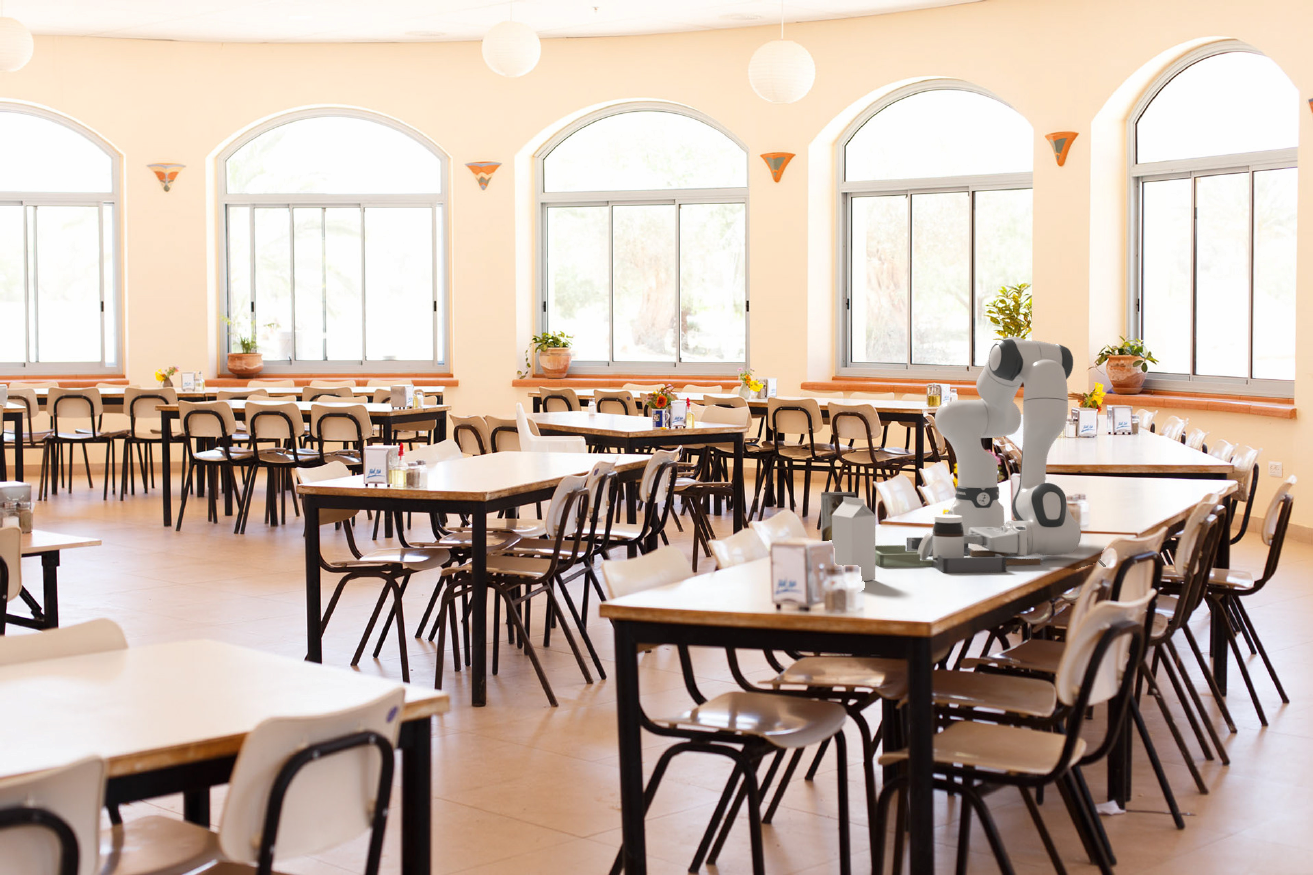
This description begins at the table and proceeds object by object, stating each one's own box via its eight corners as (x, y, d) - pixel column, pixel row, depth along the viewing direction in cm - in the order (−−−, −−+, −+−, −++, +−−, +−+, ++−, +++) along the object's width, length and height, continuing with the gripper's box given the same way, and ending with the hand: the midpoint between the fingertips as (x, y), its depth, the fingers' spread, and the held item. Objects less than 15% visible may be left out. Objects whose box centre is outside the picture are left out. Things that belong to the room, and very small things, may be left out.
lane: (866, 557, 338) (866, 545, 338) (1019, 555, 340) (1019, 543, 340) (879, 566, 322) (879, 554, 322) (1040, 564, 324) (1040, 552, 324)
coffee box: (855, 552, 347) (855, 491, 346) (856, 556, 340) (857, 493, 339) (820, 552, 348) (820, 491, 347) (821, 555, 341) (821, 493, 340)
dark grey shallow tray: (932, 566, 323) (932, 551, 323) (992, 565, 324) (992, 551, 323) (943, 572, 312) (943, 558, 312) (1005, 572, 313) (1006, 557, 313)
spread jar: (965, 565, 323) (965, 518, 322) (918, 565, 325) (918, 518, 324) (961, 558, 335) (961, 512, 334) (916, 557, 336) (916, 512, 336)
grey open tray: (906, 550, 349) (906, 537, 349) (962, 549, 350) (962, 536, 350) (916, 556, 339) (916, 542, 339) (973, 555, 340) (973, 542, 339)
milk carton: (851, 583, 299) (851, 500, 298) (831, 579, 305) (831, 497, 304) (875, 580, 303) (875, 498, 302) (855, 576, 309) (855, 495, 308)
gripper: (1002, 520, 342) (949, 521, 341) (1028, 531, 321) (972, 531, 321) (1002, 544, 342) (949, 545, 341) (1028, 556, 322) (972, 557, 321)
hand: (960, 539), depth 331 cm, fingers closed
